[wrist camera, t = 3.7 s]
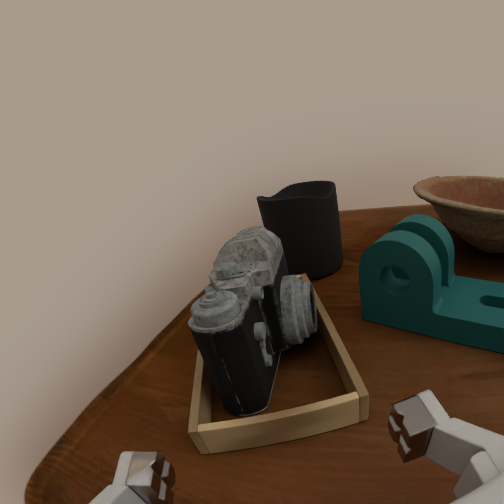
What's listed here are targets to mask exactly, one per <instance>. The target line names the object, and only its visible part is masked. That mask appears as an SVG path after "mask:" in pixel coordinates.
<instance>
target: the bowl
mask: <svg viewBox="0 0 504 504" xmlns="http://www.w3.org/2000/svg"><path fill="white" fill-rule="evenodd" d="M413 190H414V192H415V193H416V194H417V196H419V197H420V198H421V199H424V200H426V201H427V202H429V203H431V204H432V206H433V207H434V209H435V211H436V213H437V214H438V216H439V217H440V219H441V220H442V222H443V223H444V224H445V225H446V226H447V227H448V228H449V229H450V230H451V231H453V232H454V233H456V234H457V235H459V236H460V237H461V238H462V239H463V240H464V241H466V242H467V243H469V244H470V245H472V246H474V247H475V248H477V249H479V250H481V251H483V252H487V253H499V254H504V178H502V177H500V178H495V177H481V176H447V177H439V176H437V177H431V178H429V179H426V180H422V181H420V182H418V183H417V184H415V185H414V187H413Z"/></svg>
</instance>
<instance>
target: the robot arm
mask: <svg viewBox="0 0 504 504" xmlns="http://www.w3.org/2000/svg"><path fill="white" fill-rule="evenodd" d="M389 412H390V414H391V416H390V417H389V419H388V427H389V432H390V435H391V437H392V440H393V441H394V442H396V443H398V452H399V454H400V456H401V459H402V461H403V463H406V462H409V461H411V460H414V459H416V458H419V457H421V456H424V455H425V456H426V457H428V458H429V459H431V460H433V461H434V462H436V463H438V464H439V465H441V466H443V467H445V468H446V469H448V470H450V471H452V472H453V473H455V474H457V475H459V476H460V478H459V480H458V482H457V483H456V485H455V487H454V489H453V492H454V494H455V496H456V498H457V500H455V501H453V502H451V503H449V504H504V436H502V435H500V434H497V433H494V432H491V431H489V430H486V429H483V428H480V427H478V426H475V425H472V424H470V423H467V422H465V421H462V420H459V419H457V418H451V419H450V417H449V416H448V414H447V413H446V411H445V410H444V409H443V407H442V406H441V404H440V403H439V401H438V400H437V399H436V397H435V396H434V394H433V393H432V391H430V390H426V391H424V392H421V393H419V394H417V395H413V396H411V397H408V398H406V399H403V400H401V401H398V402H396V403H393V404H391V405H390V408H389ZM164 459H165V456H164V454H163V453H162V452H161V451H145V452H136V451H123V452H122V453H121V455H120V458H119V462H118V465H117V469H116V473H115V476H114V480H113V484H112V485H108V486H107V487H106V488H105V489H104V490H103V491H102V492H101V493H100V494H99V495H97V496H96V497H95V498H94V499H93V500H92V501H91V502H90V503H89V504H173V497H174V493H173V492H172V490H171V488H172V487H173V486H174V485H175V471H174V468H173V466H172V465H171V463H170V462H168V461H166V460H164Z"/></svg>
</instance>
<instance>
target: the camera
mask: <svg viewBox="0 0 504 504" xmlns="http://www.w3.org/2000/svg"><path fill="white" fill-rule="evenodd" d="M209 279H210V282H211V286H206V287H205V288H204V290H205V292H206V293H205V295H203V296H202V297H200V298H199V299H198V300H197V301H195V303H194V304H193V305H192V307H191V313H192V316H191V318H190V320H189V321H188V325H189V327H190V329H191V332H192V334H193V337H194V339H195V342H196V344H197V347H198V349H199V351H200V354H201V356H202V358H203V361H204V363H205V366H206V368H207V370H208V372H209V375H210V377H211V379H212V382H213V384H214V386H215V388H216V391H217V393H218V395H219V397H220V399H221V402H222V404H223V407H224V408H225V410H226V411H228V412H230V413H231V414H233V415H238V416H248V415H253V414H256V413H258V412H261V411H263V410H264V409H266V408H267V407H268V405H269V401H270V397H271V393H272V388H273V384H274V380H275V376H276V372H277V368H278V364H279V359H280V354H281V351H283V350H288V349H290V348H291V347H292V346H294V344H302V343H303V341H304V338H309V337H310V334H311V333H314V332H316V331H317V309H316V300H315V294H314V290H313V286H312V283H311V282H310V283H309V282H304V280H303V279H298V278H297V277H296V275H289V274H288V270H287V265H286V261H285V256H284V252H283V248H282V244H281V240H280V239H279V238H278V237H277V236H276V235H275V234H274V233H272V232H270V231H268V230H267V229H265V227H262V226H258V227H257V226H256V227H251V228H247V229H244V230H242V231H240V232H239V233H238V234H237V236H235V237H234V238H232V239H231V240H229V241H228V242H226V244H225V245H224V246H223V247H222V248H221V250H220V251H219V254H218V256H217V257H216V259H215V261H214V269H213V270H212V272H211V273H210V275H209Z"/></svg>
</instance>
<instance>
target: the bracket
mask: <svg viewBox="0 0 504 504" xmlns="http://www.w3.org/2000/svg"><path fill="white" fill-rule="evenodd" d="M454 256H455V251H454V244H453V240H452V238H451V235H450V234H449V232H448V230H447V229H446V228H445V227H444V226H443V225H442V224H441V223H440V222H439V221H438V220H436V219H434V218H432V217H430V216H427V215H421V214H416V215H411V216H408V217H406V218H404V219H403V220H401V221H400V222H399V223H398V224H397V225H395V226H394V227H393V228H392V229H391V230H390V231H389V232H388V233H387V234H385V235H383V236H382V237H381V238H380V239H378V240H377V241H376V242H375V243H373V244H372V245H371V246H370V247H369V248H368V249H367V250H366V251H365V252H364V253H363V255H362V257H361V260H360V263H359V283H360V295H361V309H362V319H363V320H367V321H371V322H375V323H379V324H383V325H386V326H390V327H394V328H398V329H402V330H406V331H410V332H414V333H418V334H422V335H426V336H430V337H434V338H439V339H443V340H447V341H451V342H455V343H460V344H464V345H468V346H473V347H477V348H481V349H486V350H490V351H495V352H500V353H504V283H499V282H493V281H487V280H480V279H474V278H468V277H462V276H457V275H455V273H454Z"/></svg>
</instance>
